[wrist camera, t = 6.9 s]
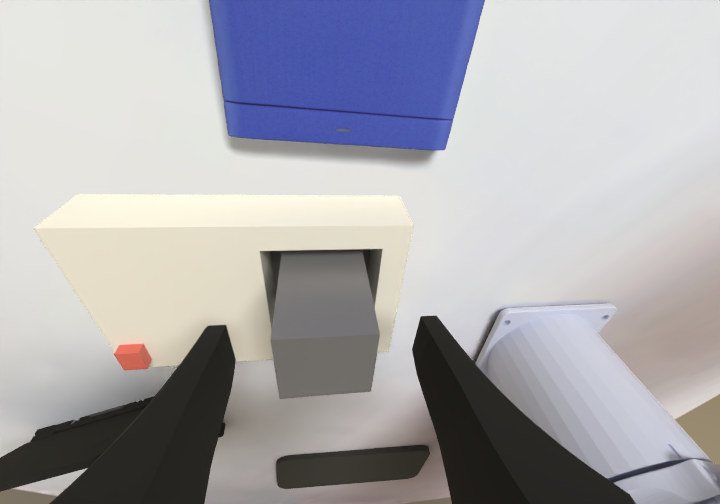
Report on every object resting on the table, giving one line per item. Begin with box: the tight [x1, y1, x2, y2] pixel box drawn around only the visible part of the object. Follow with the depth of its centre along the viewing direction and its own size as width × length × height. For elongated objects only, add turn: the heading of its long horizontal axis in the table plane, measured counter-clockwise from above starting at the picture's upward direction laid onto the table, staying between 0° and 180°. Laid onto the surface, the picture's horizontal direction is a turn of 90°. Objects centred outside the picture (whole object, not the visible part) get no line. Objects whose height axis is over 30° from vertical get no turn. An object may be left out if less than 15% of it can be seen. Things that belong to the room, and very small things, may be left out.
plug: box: [270, 249, 380, 399], centre depth 13 cm, size 3×3×6 cm
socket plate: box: [33, 194, 414, 370], centre depth 14 cm, size 8×13×3 cm, turn 87°
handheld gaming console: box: [0, 396, 225, 491], centre depth 20 cm, size 12×7×10 cm
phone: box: [277, 445, 430, 489], centre depth 32 cm, size 7×1×15 cm
